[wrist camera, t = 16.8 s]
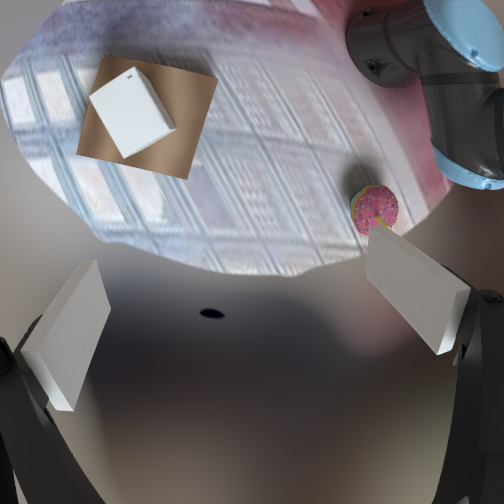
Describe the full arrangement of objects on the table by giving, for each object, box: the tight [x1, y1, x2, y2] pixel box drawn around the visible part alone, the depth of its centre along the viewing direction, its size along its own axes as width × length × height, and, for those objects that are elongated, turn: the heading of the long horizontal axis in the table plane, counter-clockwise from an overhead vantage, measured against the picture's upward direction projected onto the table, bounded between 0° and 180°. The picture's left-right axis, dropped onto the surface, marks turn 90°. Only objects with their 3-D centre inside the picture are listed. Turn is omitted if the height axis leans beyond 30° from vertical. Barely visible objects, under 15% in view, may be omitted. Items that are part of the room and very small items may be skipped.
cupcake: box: [351, 185, 398, 235], centre depth 46 cm, size 9×8×12 cm
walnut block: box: [76, 55, 219, 180], centre depth 38 cm, size 16×14×6 cm
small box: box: [88, 66, 176, 158], centre depth 31 cm, size 8×6×10 cm
